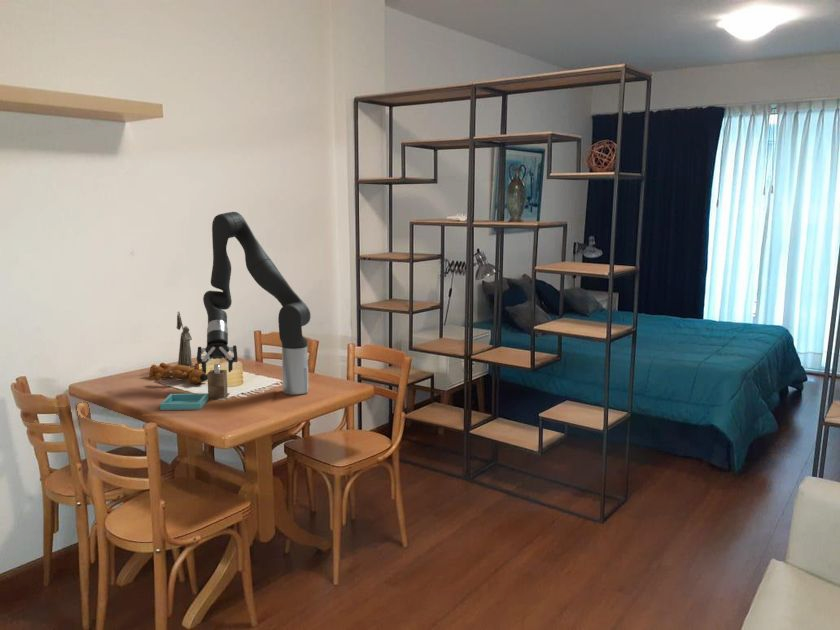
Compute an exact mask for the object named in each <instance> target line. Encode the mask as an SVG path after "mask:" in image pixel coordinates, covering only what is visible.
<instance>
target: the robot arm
mask: <svg viewBox="0 0 840 630" xmlns="http://www.w3.org/2000/svg"><path fill="white" fill-rule="evenodd" d="M211 233H212V234H211V235H212V236H211V237H212V270H211V276H210V285H211V286H212V287H213V288H215V289H218V290H207V291H206V292H204V294H203V297H202V301H203V305H204V308H205V311H206V313H207V328H206V346H205V347H202V346H198V347H197V352H196V353H197V354H196V363H198V364H201V367H202V368H201V370H202V372H204V373H206V374H207V363H208V362H210V361H212V359H213V360H217V359H219V360H222V359H224V360H225V361H226V362H227V363H228V364H227V365H228V373H231V371H233V367H234V366H233V363H237V362H238V350H237V349H238V348H237V345H236V344H235V345H233V346H229V337H228V336H229V332H228V331H229V328H228V315H227V312H226V311H225V310H228V309H229V308H231V306H232V303H233V302H232V295H231V294H232V293H231V291H230V290H231V289H230V282H231V276H232V264H231V260H230V258H229V256H228V251H227V246H228V241H229V239H233V238H235V239H236V240H237V242H239V244H240V246H241V248H242V249H243V251H244V261H245V265H246V269H247V272H248V273H249V274H250V276H251V278H252V279H253V280H254V281H255V283H257V284H258V286H260V287H261V288H262V289H263V290H264V291H265V292H267V293H268V294H270V295H272V296H273V297H274V298H275V299H276V300H277V301H278V302H279V303H280V305H281V308H280V310H279V313H278V321H277V322H278V334H279V340H280V342H281V357H282V358H281V359H282V360H281V361H282V362H281V364H282V370H281V371H282V393H283V394H285V395H292V396H293V395H302V394H303V395H304V394H308V392H309V385H310V384H309V363H308V361H309V360H308V339H307V338H306V336H305V337H304V336H303V328H302V327H304V326H307V324H309V323H310V321H311V311H310V309H309V307H308V306H307V304H306V303H305V302H304V301H303V300H302V299H301V298H300V297H299V295H298V294H297V293H296V292H295V291H294V290H293V288H292V287H291V285H289V283H288V282H287V280H286V279H285V277H284V276H283V275H282V273H281V272H280V270H279V269H278V268H277V266H276V264H275V263H274V261H273V260H272V259H271V257H270V256H269V255H268V254H267V252H266V251H265V250H264V248H263V247H262V245H261V244H260V243H259V241H258V240H257V238H256V236H255V235H254V233H253V230H252V229H251V227H250V226H249V224H248V223H247V221H246V220H245V218H244V217H243V215H242V214H240V213H239V212H237V211H231V212H230V211H229V212H224V213H220V214H219V213H218V214H217V215H215V216H214V218H213V220H212V223H211ZM219 290H220V291H219ZM229 352H231V353H232V354H233V357H231V355H230V354H229ZM205 353H206V354H205ZM203 354H205V356H204V357H203V358H202V355H203Z"/></svg>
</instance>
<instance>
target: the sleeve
mask: <svg viewBox="0 0 840 630" xmlns="http://www.w3.org/2000/svg"><path fill="white" fill-rule="evenodd" d="M206 375H207V378H208V379H207V393H208V398H225V397H226V395H227V394H228V393H229V391H228V372H227V369H220V373H214V369H210V370H209V371H208V372H206Z"/></svg>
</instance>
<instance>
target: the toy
mask: <svg viewBox="0 0 840 630" xmlns="http://www.w3.org/2000/svg"><path fill="white" fill-rule="evenodd" d="M148 372H149V373H148V377H149V378H150V377H152V378H155V379H156V380H158V381H159V382H161V381H162V378H170V377H173V378H174V379H176V380H179V381H188V383H189V384H190V385H191V384H192V386H193V385H198V384H197V383H199V384H201V382H202V383H204V382H205V381H208V378H207V372H206V373H204V372H202V368H201V369H199V364H198V363H197V362H196V363H195V364H194V365H193V368H192V367H189V366H185V365H178V364H175V365H173V366H172V365H170V364H166V363H165V362H161V363H159V366H157V365H156V364H152V365H150V368H149V371H148ZM153 376H155V377H153Z"/></svg>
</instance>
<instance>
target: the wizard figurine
mask: <svg viewBox="0 0 840 630" xmlns="http://www.w3.org/2000/svg"><path fill="white" fill-rule="evenodd" d="M181 317H182V316H181V313H180V311H177V315H176V329H177V330H178V331H180V330H181V328H182V332H181V333H180V338H179V351H178V360H177V365H185V366H190V367H192V368H194V367H193V366H194V365H193V360H192V359H193V358H192V347H191V341H192V340H193V338H192V336H191V334H190V333H191V332H190V328H189V327H188V326H187V325H185V326H184V325H183V321H182V318H181Z"/></svg>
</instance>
